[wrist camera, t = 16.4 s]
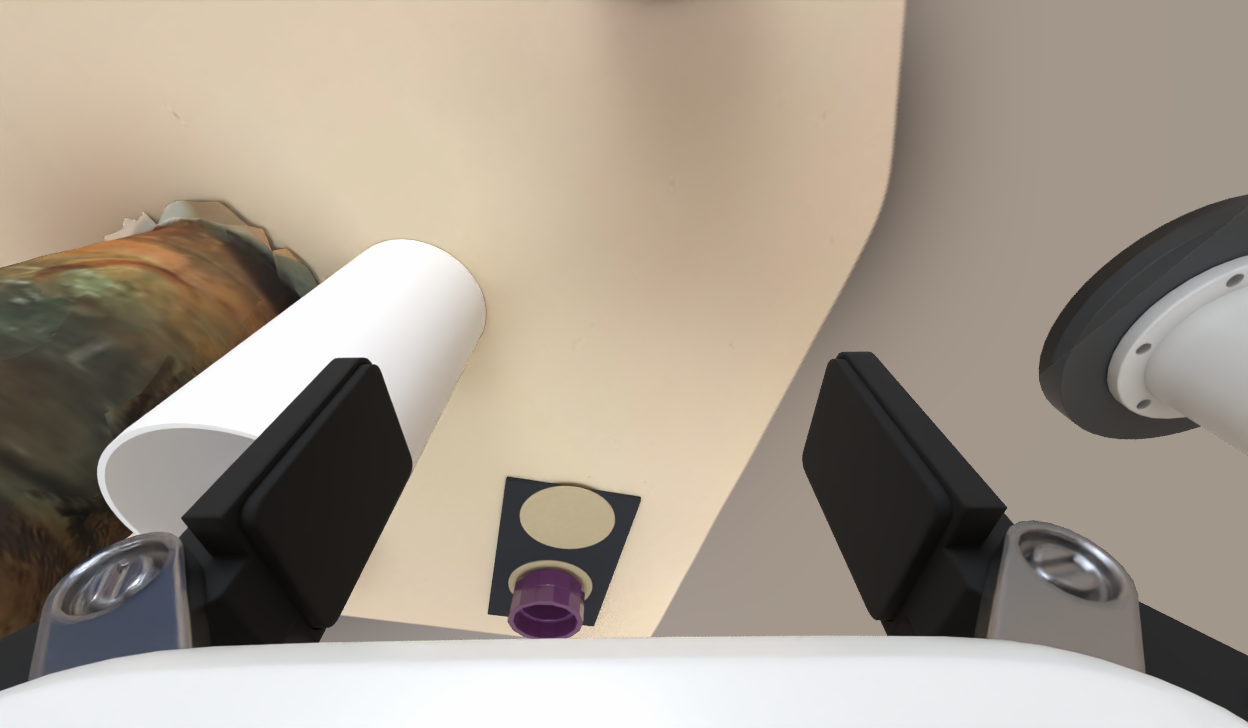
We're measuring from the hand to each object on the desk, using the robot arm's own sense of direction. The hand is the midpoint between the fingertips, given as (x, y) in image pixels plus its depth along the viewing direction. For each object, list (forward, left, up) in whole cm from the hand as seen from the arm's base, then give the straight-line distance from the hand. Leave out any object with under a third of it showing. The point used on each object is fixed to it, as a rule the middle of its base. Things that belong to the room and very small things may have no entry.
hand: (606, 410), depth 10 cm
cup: (+11, -8, -18) cm, 23 cm away
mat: (+31, +10, -18) cm, 38 cm away
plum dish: (+35, +11, -18) cm, 41 cm away
